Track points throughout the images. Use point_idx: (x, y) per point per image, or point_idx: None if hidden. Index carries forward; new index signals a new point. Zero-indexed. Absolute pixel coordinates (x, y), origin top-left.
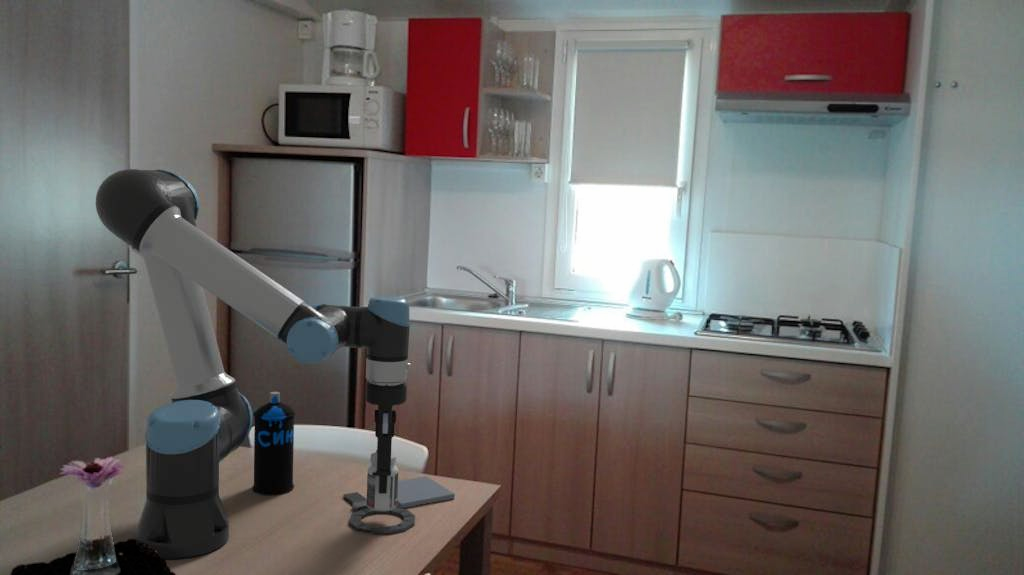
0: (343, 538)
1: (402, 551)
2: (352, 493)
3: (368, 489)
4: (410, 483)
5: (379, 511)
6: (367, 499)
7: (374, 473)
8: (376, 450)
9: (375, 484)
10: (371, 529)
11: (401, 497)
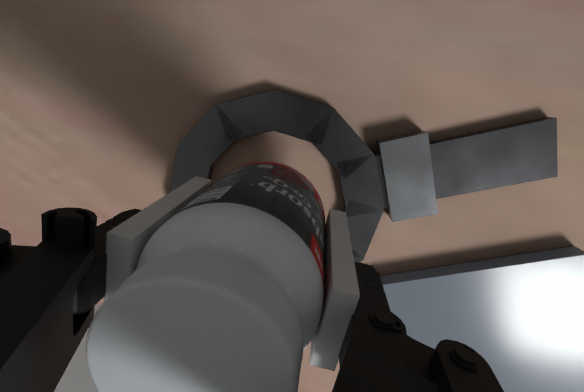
0: (162, 48)
1: (58, 200)
2: (549, 155)
3: (232, 179)
4: (539, 362)
5: (344, 209)
6: (252, 166)
7: (47, 224)
8: (471, 363)
9: (140, 211)
10: (189, 149)
11: (418, 302)
